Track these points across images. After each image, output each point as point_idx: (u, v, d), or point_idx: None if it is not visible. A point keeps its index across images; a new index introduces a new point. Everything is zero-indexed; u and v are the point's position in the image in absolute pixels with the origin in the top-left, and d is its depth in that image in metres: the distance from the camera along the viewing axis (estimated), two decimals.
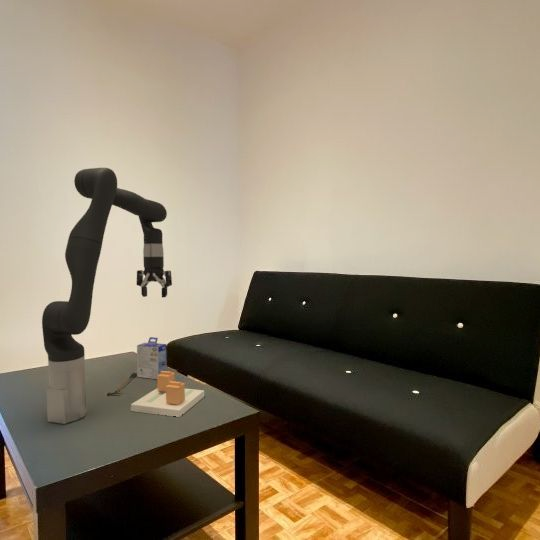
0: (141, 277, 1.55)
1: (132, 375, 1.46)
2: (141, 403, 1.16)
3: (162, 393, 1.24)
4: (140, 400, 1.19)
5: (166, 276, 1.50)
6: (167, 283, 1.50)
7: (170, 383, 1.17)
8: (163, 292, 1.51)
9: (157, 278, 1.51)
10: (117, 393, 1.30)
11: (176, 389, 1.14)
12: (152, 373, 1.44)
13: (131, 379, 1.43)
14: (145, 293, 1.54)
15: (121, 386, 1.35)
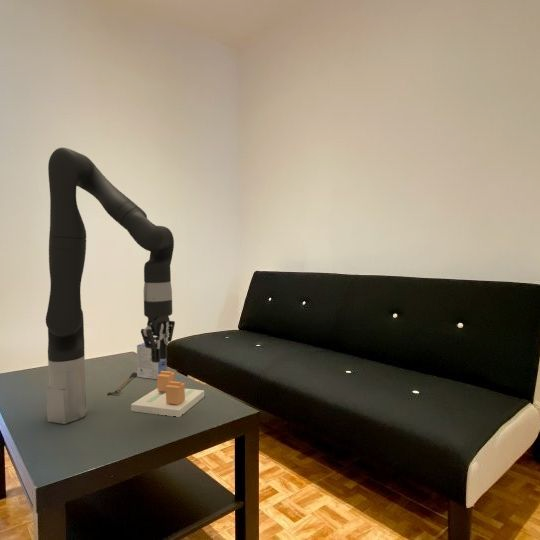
0: None
1: (132, 375, 1.46)
2: (141, 403, 1.16)
3: (162, 393, 1.24)
4: (140, 400, 1.19)
5: (172, 328, 1.13)
6: (170, 337, 1.12)
7: (170, 383, 1.17)
8: (166, 351, 1.10)
9: (167, 330, 1.09)
10: (117, 393, 1.30)
11: (176, 389, 1.14)
12: (152, 373, 1.44)
13: (131, 379, 1.43)
14: None
15: (121, 386, 1.35)
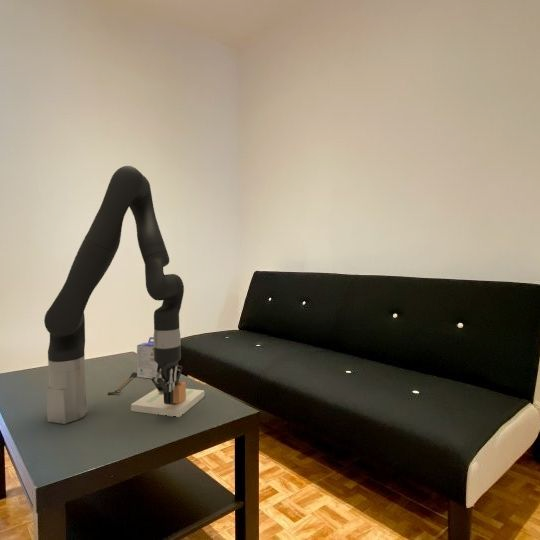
0: None
1: (132, 375, 1.47)
2: (141, 403, 1.16)
3: (162, 393, 1.24)
4: (140, 400, 1.19)
5: (179, 372, 1.17)
6: (176, 381, 1.15)
7: None
8: (172, 395, 1.13)
9: (175, 374, 1.13)
10: (117, 392, 1.30)
11: (178, 388, 1.15)
12: (152, 373, 1.44)
13: (131, 379, 1.44)
14: None
15: (121, 386, 1.36)
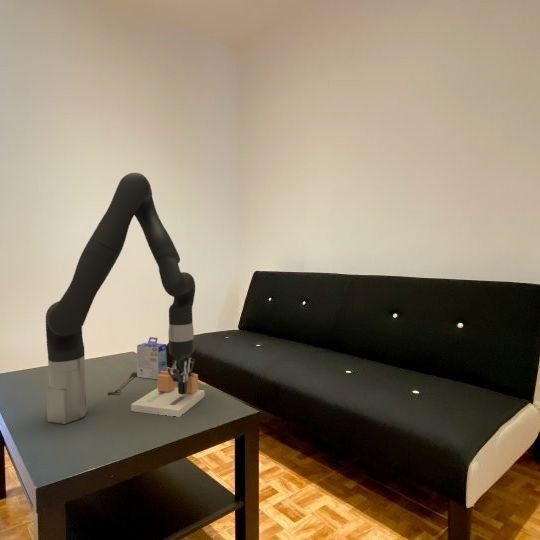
0: None
1: (132, 374, 1.47)
2: (141, 403, 1.16)
3: (162, 393, 1.24)
4: (140, 400, 1.19)
5: (192, 365, 1.24)
6: (189, 373, 1.23)
7: None
8: (186, 386, 1.21)
9: (188, 366, 1.21)
10: (118, 392, 1.30)
11: (191, 380, 1.23)
12: (152, 373, 1.44)
13: (131, 378, 1.44)
14: None
15: (122, 385, 1.36)
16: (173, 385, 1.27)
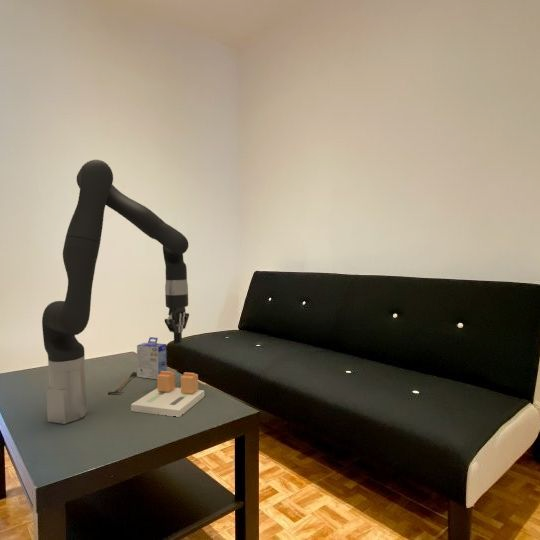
0: None
1: (132, 374, 1.47)
2: (141, 403, 1.16)
3: (162, 393, 1.24)
4: (140, 400, 1.19)
5: (186, 318, 1.37)
6: (184, 325, 1.36)
7: (184, 374, 1.25)
8: (181, 337, 1.34)
9: (183, 319, 1.34)
10: (118, 392, 1.31)
11: (191, 380, 1.23)
12: (152, 373, 1.44)
13: (131, 378, 1.44)
14: None
15: (122, 385, 1.36)
16: (173, 385, 1.27)
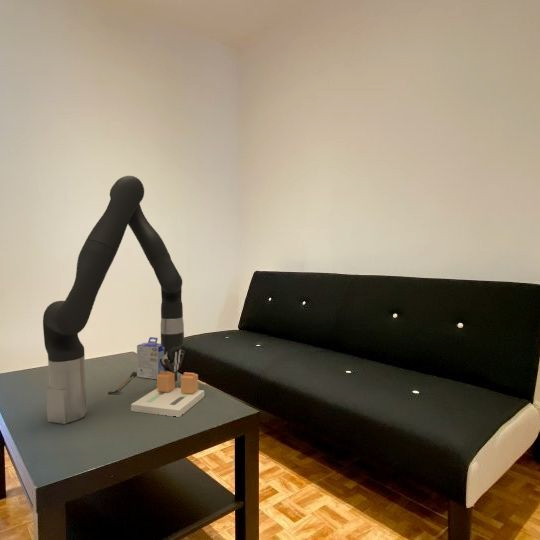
0: None
1: (132, 374, 1.47)
2: (141, 403, 1.16)
3: (162, 393, 1.24)
4: (140, 400, 1.19)
5: (182, 356, 1.35)
6: (180, 363, 1.33)
7: (184, 374, 1.25)
8: (176, 375, 1.32)
9: (179, 357, 1.32)
10: (118, 392, 1.31)
11: (191, 380, 1.23)
12: (152, 373, 1.44)
13: (131, 378, 1.44)
14: None
15: (122, 385, 1.36)
16: (173, 385, 1.27)
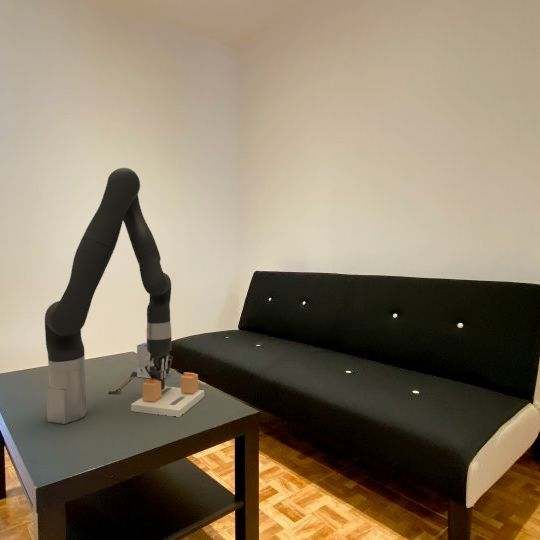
0: None
1: (132, 374, 1.47)
2: (141, 403, 1.16)
3: (162, 393, 1.24)
4: (140, 400, 1.19)
5: (170, 362, 1.27)
6: (167, 370, 1.26)
7: (184, 374, 1.25)
8: (164, 383, 1.24)
9: (166, 364, 1.24)
10: (118, 391, 1.31)
11: (191, 380, 1.23)
12: None
13: (132, 378, 1.44)
14: None
15: (122, 385, 1.36)
16: (159, 394, 1.20)
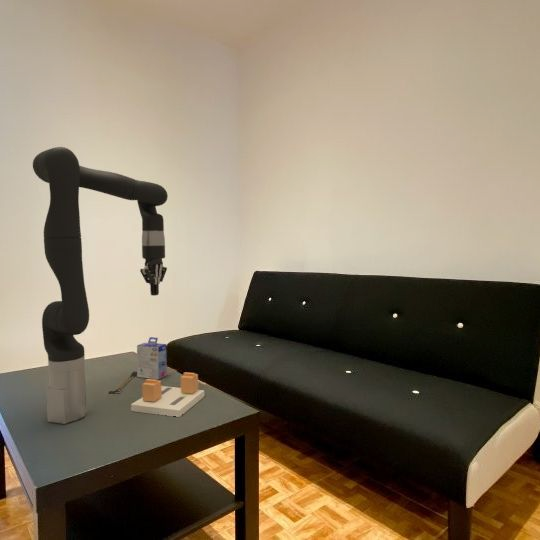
0: None
1: (133, 374, 1.48)
2: (141, 403, 1.16)
3: (162, 393, 1.24)
4: (140, 400, 1.19)
5: (164, 272, 1.38)
6: (161, 278, 1.36)
7: (184, 374, 1.25)
8: (158, 289, 1.35)
9: (160, 271, 1.34)
10: (118, 391, 1.31)
11: (191, 380, 1.23)
12: (152, 373, 1.44)
13: (132, 378, 1.45)
14: None
15: (122, 384, 1.37)
16: (159, 394, 1.20)
